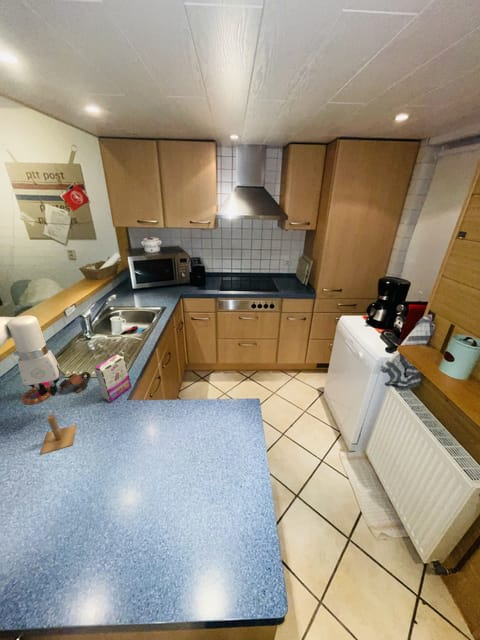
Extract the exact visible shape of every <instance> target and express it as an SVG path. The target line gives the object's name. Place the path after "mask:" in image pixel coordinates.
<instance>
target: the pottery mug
mask: <svg viewBox="0 0 480 640" xmlns="http://www.w3.org/2000/svg"><path fill="white" fill-rule="evenodd" d="M85 375H86V378H85ZM91 376H92V375H91V372H89V371H83V372H81V373H80V374H77V373H76V372H74V373H72V374H70V375H68V377H67V378H68V379H67V378H66V379H64V380H62V381H61V382H60V383H59V385H58V386H59V387H60V390H61V391H62V392H64V391H65V389H67V390H68V389H70V388H71V387H70V386H71V385H73V386H75V387H76V386H77V387H79V388H78V389H77V390H76V391H75V392H76V393H77V394H80V393H82V392H84V391H85V390H86V389H87V388H88V385H89V384H88V382H89V381H90V379H91Z"/></svg>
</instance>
